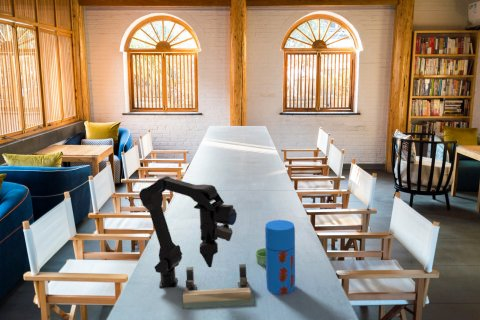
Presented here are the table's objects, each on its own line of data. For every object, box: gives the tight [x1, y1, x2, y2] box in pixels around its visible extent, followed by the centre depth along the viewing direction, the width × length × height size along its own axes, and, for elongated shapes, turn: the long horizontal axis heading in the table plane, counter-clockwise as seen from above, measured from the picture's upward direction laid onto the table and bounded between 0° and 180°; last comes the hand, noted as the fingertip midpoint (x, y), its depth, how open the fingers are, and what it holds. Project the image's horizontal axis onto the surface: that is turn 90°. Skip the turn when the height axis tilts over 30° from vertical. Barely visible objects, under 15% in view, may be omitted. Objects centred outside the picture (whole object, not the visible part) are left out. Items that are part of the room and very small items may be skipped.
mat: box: [182, 290, 255, 310], centre depth 163 cm, size 8×25×1 cm, turn 93°
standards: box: [184, 263, 250, 291], centre depth 170 cm, size 7×24×8 cm, turn 93°
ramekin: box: [255, 247, 266, 267], centre depth 192 cm, size 9×9×4 cm
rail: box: [182, 287, 251, 303], centre depth 162 cm, size 3×24×3 cm, turn 93°
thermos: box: [264, 219, 296, 295], centre depth 168 cm, size 11×11×25 cm
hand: (210, 261), depth 165 cm, fingers open, 9 cm apart
